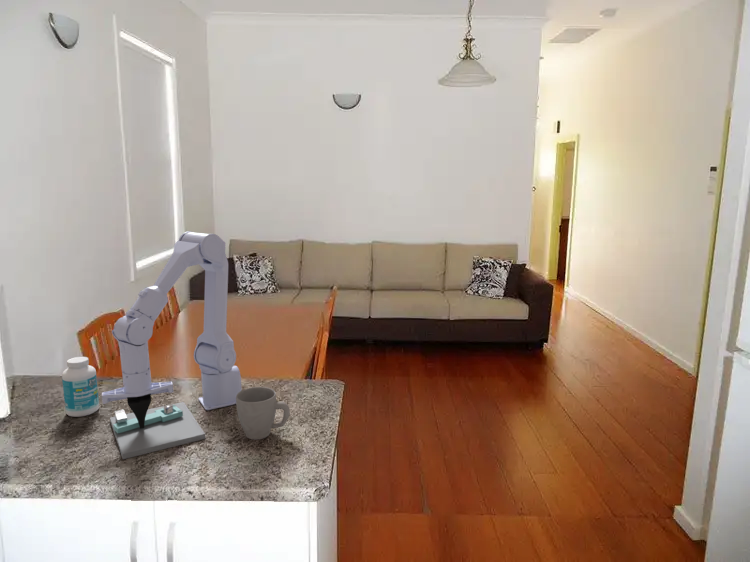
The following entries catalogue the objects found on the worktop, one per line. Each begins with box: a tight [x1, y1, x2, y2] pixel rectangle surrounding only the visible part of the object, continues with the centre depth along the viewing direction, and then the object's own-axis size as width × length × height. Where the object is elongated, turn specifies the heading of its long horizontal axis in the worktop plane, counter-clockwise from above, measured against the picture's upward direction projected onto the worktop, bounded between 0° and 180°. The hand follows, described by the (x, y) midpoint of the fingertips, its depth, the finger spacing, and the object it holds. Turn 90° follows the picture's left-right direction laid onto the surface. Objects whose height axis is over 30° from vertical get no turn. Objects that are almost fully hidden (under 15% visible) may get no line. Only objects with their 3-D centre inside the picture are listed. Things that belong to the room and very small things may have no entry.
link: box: [113, 405, 183, 433], centre depth 129 cm, size 14×5×1 cm, turn 131°
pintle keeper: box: [114, 404, 173, 423], centre depth 130 cm, size 12×5×4 cm, turn 122°
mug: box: [235, 386, 291, 440], centre depth 125 cm, size 12×9×10 cm
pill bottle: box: [61, 356, 100, 418], centre depth 136 cm, size 8×7×14 cm
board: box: [109, 401, 206, 460], centre depth 128 cm, size 17×20×1 cm
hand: (141, 426), depth 125 cm, fingers closed, pressing on link
